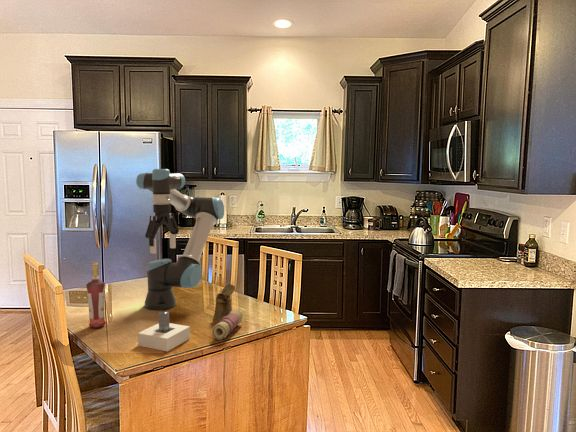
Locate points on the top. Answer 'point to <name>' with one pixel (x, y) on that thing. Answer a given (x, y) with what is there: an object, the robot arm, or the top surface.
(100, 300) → the liquor
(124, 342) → the top surface
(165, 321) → the peg
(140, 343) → the socket
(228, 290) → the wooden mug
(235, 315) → the scroll
